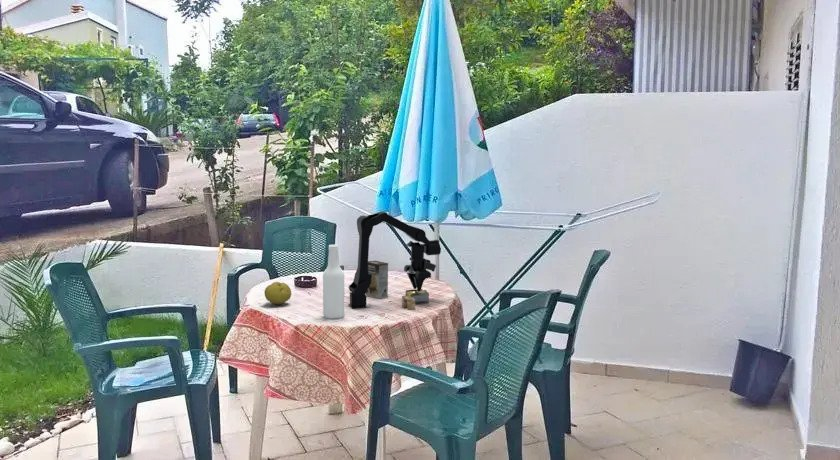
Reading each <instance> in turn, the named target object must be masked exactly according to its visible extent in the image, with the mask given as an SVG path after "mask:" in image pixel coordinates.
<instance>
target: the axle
mask: <svg viewBox="0 0 840 460" xmlns="http://www.w3.org/2000/svg"><path fill="white" fill-rule="evenodd" d="M426 292H428V291H427V289H423V290H421V291H410V292H407V293H406V292H405V295H409V296H411V294H413V293H426Z"/></svg>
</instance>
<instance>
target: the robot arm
mask: <svg viewBox="0 0 840 460" xmlns="http://www.w3.org/2000/svg"><path fill="white" fill-rule="evenodd" d="M356 219H357V220H356V227H357V228H356V229H357V233H358V255H357V267H356V268H357V269H356V271H355V273H354V277H353V281H352V282H351V283H350V284H349V285H348V290H349V303H348V306H349V307H350V308H351V309H361V308H367V307H368V306H367V296H366V291H367V289H368V288H369V287H370V283H372V282H371V278H372V274H371V273H369V272H368V261H369V252H370V251H369V250H370V249H369V248H370V237H371V234H372V232H373V229H374V227H376V226H378V225H379V224H382V223H386V224H388V225H390V226H391V227H393V228H395V229H398V230H399V231H401V232H403V233H404V234H405V235H406V236H407V237H409V238H410V239H411V240H409V242H408V243H406V246H407V247H409V248H410V257H409V261H410V264H405V265H404V267H403V271H404V272H405V273H406V274H407V277H408V278H409V281H410V283H411V286H412V287H413V290H418V291H421V289H423V288H422V287H423V284H424V282H425V280H426V279H430V278H432V273H433V272H435V270H436V267H437V265H436V264H434V263H433V262H431V260H430V259H427V258H425V255H426V256H440V254H441V253H442V248H441V244H440V240H439V239H433V240H430V239H428V237H427V234H426V231H425V230H424V229H422V228H419V227H418V226H417V227H416V226H414V225H411V224H407V223H406V222H403V221H401V220H399V218H396V217H394V216H393V215H390V214H389V213H387V212H385V211H379V212H376V213H372V214H369V215H360V216H359V217H358V218H356ZM412 240H413V241H415V242H413V241H412ZM431 272H432V273H431Z"/></svg>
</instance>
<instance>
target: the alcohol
mask: <svg viewBox="0 0 840 460" xmlns="http://www.w3.org/2000/svg"><path fill="white" fill-rule="evenodd" d="M322 304H323V305H322V309H323V310H322V315H323V317H324V318H325V319H329V320H337V319H342V318H344V316H345V313H346V312H345V307H346V306H345V305H346V304H345V272H344V271H343V269H342V268H341V265H340V260H339V245H338V244H334V243H333V244H329V245H328V257H327V266H326V268H325V270H324V271H323V274H322Z"/></svg>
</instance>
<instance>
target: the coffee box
mask: <svg viewBox="0 0 840 460" xmlns="http://www.w3.org/2000/svg"><path fill="white" fill-rule="evenodd" d="M368 272H369V273H371V274H372V278H371V282H372V283H370V287H369V288H368V289H367V291H366V293H365V295H366V297H369V298H373V299H378V300H379V299H380V300H381V299H383V298H387V297H388V296H389V295H388V293H389V289H388V288H389V286H388V285H389V262H384V261H381V260H368Z"/></svg>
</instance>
